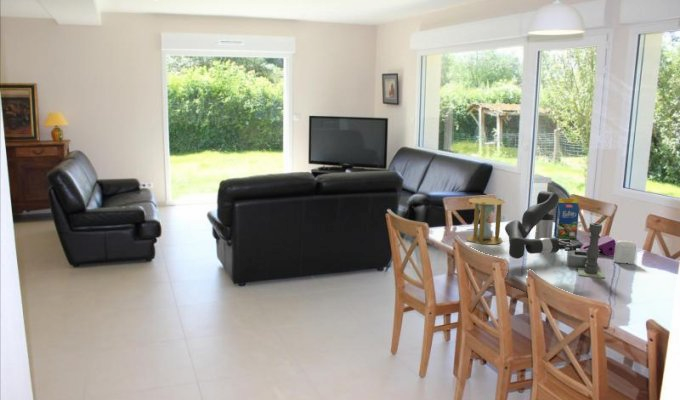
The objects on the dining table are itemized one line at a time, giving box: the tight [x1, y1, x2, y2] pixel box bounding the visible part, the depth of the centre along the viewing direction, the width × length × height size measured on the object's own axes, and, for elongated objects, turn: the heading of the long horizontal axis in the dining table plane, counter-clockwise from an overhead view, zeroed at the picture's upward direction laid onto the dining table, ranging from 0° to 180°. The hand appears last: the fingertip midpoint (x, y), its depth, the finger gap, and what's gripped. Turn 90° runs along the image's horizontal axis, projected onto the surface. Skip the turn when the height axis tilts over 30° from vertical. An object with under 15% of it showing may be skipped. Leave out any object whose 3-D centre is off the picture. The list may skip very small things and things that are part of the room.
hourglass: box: [466, 196, 506, 245], centre depth 358 cm, size 24×22×25 cm
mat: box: [577, 268, 606, 279], centre depth 297 cm, size 12×12×1 cm
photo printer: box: [613, 240, 637, 265], centre depth 316 cm, size 10×4×12 cm, turn 72°
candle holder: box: [584, 222, 603, 274], centre depth 294 cm, size 6×6×25 cm
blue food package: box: [553, 198, 580, 240], centre depth 367 cm, size 6×12×25 cm, turn 90°
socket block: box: [566, 249, 588, 269], centre depth 311 cm, size 14×14×6 cm
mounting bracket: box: [579, 234, 616, 256], centre depth 335 cm, size 10×8×18 cm
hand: (575, 243), depth 290 cm, fingers open, 8 cm apart
